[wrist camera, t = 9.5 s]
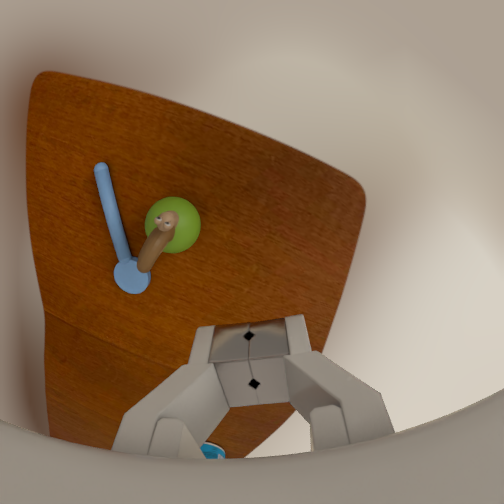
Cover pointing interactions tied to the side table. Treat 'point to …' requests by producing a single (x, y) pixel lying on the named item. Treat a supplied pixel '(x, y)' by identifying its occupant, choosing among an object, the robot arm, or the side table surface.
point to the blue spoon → (119, 237)
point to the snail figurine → (168, 230)
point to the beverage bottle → (212, 451)
